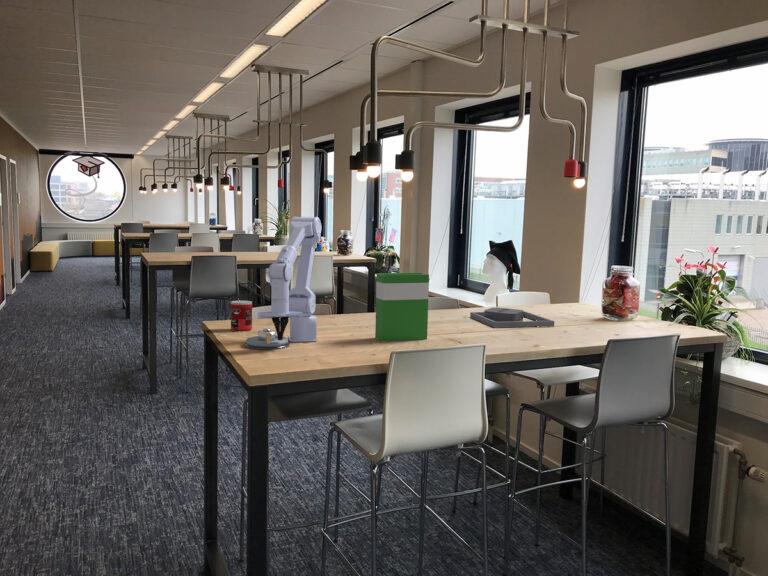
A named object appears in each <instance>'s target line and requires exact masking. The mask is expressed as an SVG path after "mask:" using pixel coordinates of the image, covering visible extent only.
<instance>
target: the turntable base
mask: <svg viewBox="0 0 768 576" xmlns="http://www.w3.org/2000/svg"><path fill="white" fill-rule="evenodd" d="M244 347H245V348H247V349H250V350H258V351H272V350H273V349H274V350H280V349H281V348H282V349H286V348H287V347H290V341H288V344H286V345H283V346H277V347H254V346H249V345H247V344H246V342H244ZM285 347H286V348H285Z"/></svg>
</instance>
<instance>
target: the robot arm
mask: <svg viewBox="0 0 768 576" xmlns="http://www.w3.org/2000/svg"><path fill="white" fill-rule="evenodd" d="M289 227H290V235H289V238H288V241H287V243H286V245H284V246H282V248H281V249H280V252H279V254H278V256H277V258H276V260H275V262H273V263H271V264H270V265H269V267H268V271H267V275H268V278H269V285H270V287H271V288H270V289H271V296H270V297H271V302H270V303H271V311H258V312H257V319H258V320H262V319H271V321H272V323H273V326H274V328H275V331H276V336H277V337H278V340H282V339H283V337H284V334H285V331H286V329H287V328H286V327H287V326H288V323H289V336H287V339H288V342H289V343H297V342H298V343H299V342H303V343H305V342H317V341H318V340H317V335H318V334H317V333H318V331H317V329H318V326H317V315H313V314H315V311H316V306H317V305H316V298H317V296H316V294H315V293H314V291H312V290H311V289H310V287H311V286H310V285H311V279H312V272H313V271H312V270H313V263H314V257H315V253H316V252H315V250H316V244H317V243H319V242H320V240H321V233H322V223H321V219H320V218H319V217H318V216H313V217H312V216H311V217H310V216H309V217H308V216H305V217H304V216H293V217H292V218H291V220H290V224H289ZM300 245H301V246H300ZM299 246H300V247H301V248H300V253H299V258H298V259H299V260H298V267H297V272H296V279H295V286H294V287H293V288H292V289H290V281H291V279H292V277H293V271H294V264H295V261H296V259H297V257H298V252H297V250H298V248H299Z"/></svg>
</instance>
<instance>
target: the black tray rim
mask: <svg viewBox="0 0 768 576" xmlns="http://www.w3.org/2000/svg"><path fill="white" fill-rule="evenodd" d="M523 316H525V317H524V318H526V317H528V318H531V319H534V320H537V321H534V320H531V319H530V320H523V321H514V322H495V321H493V320H490V319H488V318H486V317H484V311H470V315H469V318H470V317H471V318H470V319H473V320H475V321H477V322H480V323H482V324H483V325H484V324H485V325H487V326H489V327H491V328H493V329H508V328H509V329H511V328H512V327H519V328H535V327H534V326H554V327H555V320H554V319H548V318H546V317H544V316H541V315H537V314H534V313H531V312H528V311H524V310H523ZM528 318H527V319H528Z"/></svg>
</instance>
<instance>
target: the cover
mask: <svg viewBox="0 0 768 576" xmlns="http://www.w3.org/2000/svg"><path fill="white" fill-rule="evenodd" d="M266 333H269V334H270V341H274V340H276V336H277V332H276V330H273V329H271V328H268V327H267V328H263V329H260V330H258V331H257V336H258V340H259V341H266Z"/></svg>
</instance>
